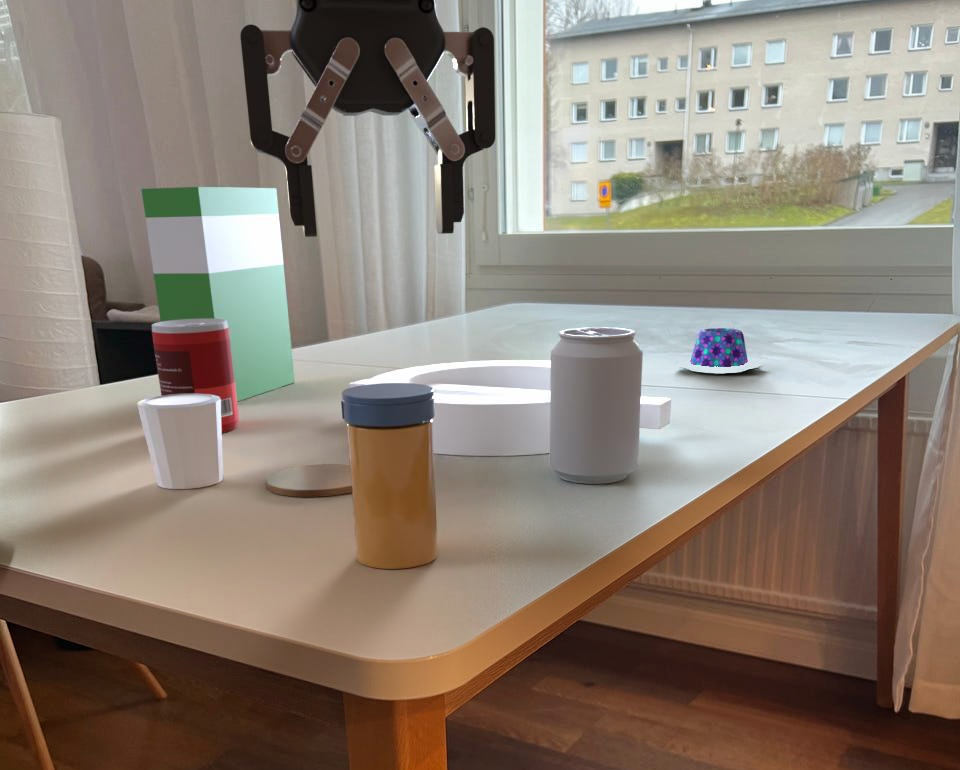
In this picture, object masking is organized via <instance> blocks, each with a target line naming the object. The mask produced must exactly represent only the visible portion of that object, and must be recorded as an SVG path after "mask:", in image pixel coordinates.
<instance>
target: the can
mask: <svg viewBox="0 0 960 770" xmlns="http://www.w3.org/2000/svg"><path fill="white" fill-rule="evenodd" d="M557 334H558V336H559V341H558V342H557V343H556V344H555V345H554V346H553V348H552V349H551V350H550V361H551V372H550V453H549V467H550V469H552V470H553V471H554V473H556V474H557V475H558V477H559V478H560V479H562V480H565V481H568V482H569V483H570V482H571V483H577V484H587V485H601V484H602V485H603V484H611V483H617V482H621V481H623V480H626V479H627V478H628V477H629V475H630V474H632V473H633V472H634V471H635V470H636V469H637V468H638V467H639V447H640V446H639V445H640V428H639V427H640V405H641V397H642V380H643V359H644V358H643V356H644V351H643V349H642V348H641V347H640V346H639V344H638V343H637V342H636V341H635V340H634V339H635V336H636V335H637V333H636V332H635V330H634V329H629V328H621V327H579V328H568V329H564V330H560V331H559V332H558V333H557ZM627 476H628V477H627ZM625 478H626V479H625Z"/></svg>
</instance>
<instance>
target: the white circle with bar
mask: <svg viewBox="0 0 960 770" xmlns="http://www.w3.org/2000/svg"><path fill="white" fill-rule="evenodd" d="M550 372H551V360H535V359H533V360H531V359H528V360H527V359H509V360H508V359H502V360H501V359H500V360H472V361H471V360H470V361H457V362H443V363H435V364H434V363H433V364H427V365H417V366H412V367H411V366H410V367H405V368H400V369H394V370H391V371H386V372H383V373H380V374H376V375H375V376H372V377H370V378H363V379H360V380H354V381H352V382H348V388H352V387H356V386H361V385H369V384H381V383H413V384H422V385H427V386H430V387H432V388H433V389H434V409H435V416H434V418H432V424H433V449H434V454H437V455H449V456H450V455H451V456H465V457H466V456H467V457H468V456H469V457H471V456H472V457H508V456H509V457H511V456H530V455H543V454H550ZM671 409H672V398H668V397H652V396H641V405H640V427H639V429H649V430H661V429H663V428H665V426H667V425H669V424H670V423H671Z"/></svg>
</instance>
